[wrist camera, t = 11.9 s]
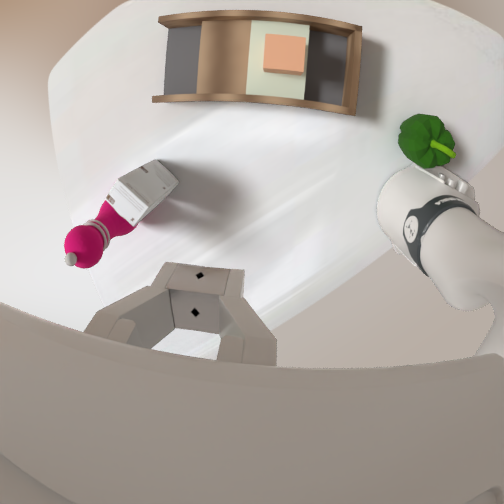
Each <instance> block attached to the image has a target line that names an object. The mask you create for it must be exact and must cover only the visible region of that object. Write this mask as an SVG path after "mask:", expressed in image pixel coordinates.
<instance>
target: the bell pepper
mask: <svg viewBox="0 0 504 504" xmlns="http://www.w3.org/2000/svg"><path fill="white" fill-rule="evenodd" d="M400 129H401V133H400V134H399V139H398V144H399V146H400V148H401V150H402V151H403V153H404V154H405V155H406V157H407V158H408V159H410V160H411V161H413V162H414V163H415V164H417V165H418V166H420V167H422V168H423V169H429V168H434V167H435V166H442V165H444V164H447V163H449V162H450V158H455V156H456V153H455V152H453V149H454V146H455V142H454V140H453V138H452V136H451V133H450V132H449V131H448V130H445V127H444V124H443V122H442V121H441V120H440V119H439V118H438V117H437V116H432V115H425V114H417V115H414V116H412V117H410V118H409V119H407V120H405V121H404V122H403V123H402V125H401V126H400Z"/></svg>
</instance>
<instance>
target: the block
mask: <svg viewBox="0 0 504 504" xmlns="http://www.w3.org/2000/svg"><path fill="white" fill-rule="evenodd" d="M305 46H306V38H305V37H297V36H289V35H278V34H265V47H264V61H263V70H264V72H270V73H281V74H291V75H299V76H301V75H302V73H303V72H304V61H305Z"/></svg>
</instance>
